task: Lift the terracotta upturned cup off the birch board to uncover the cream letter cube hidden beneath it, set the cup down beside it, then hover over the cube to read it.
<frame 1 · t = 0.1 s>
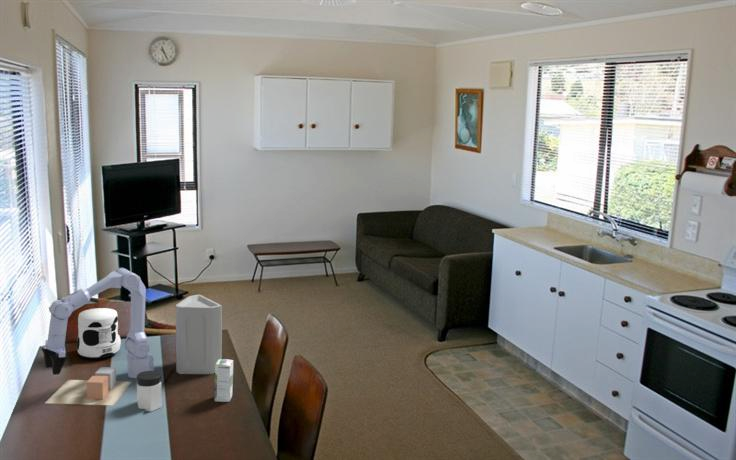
hand: (52, 370, 237), 10 cm above the table, tool pointing down, fingers open, 7 cm apart
grey cover: (105, 386, 248), point 1 cm above the table, touching birch board
white triangular prism: (194, 368, 271), on the table
syrup box: (223, 399, 245), on the table
letter cube: (97, 395, 240), point 1 cm above the table, touching birch board
jar: (149, 406, 236), on the table
terracotta cover: (97, 395, 240), point 1 cm above the table, touching birch board
milk container: (99, 354, 281), on the table
birch board: (90, 394, 243), on the table
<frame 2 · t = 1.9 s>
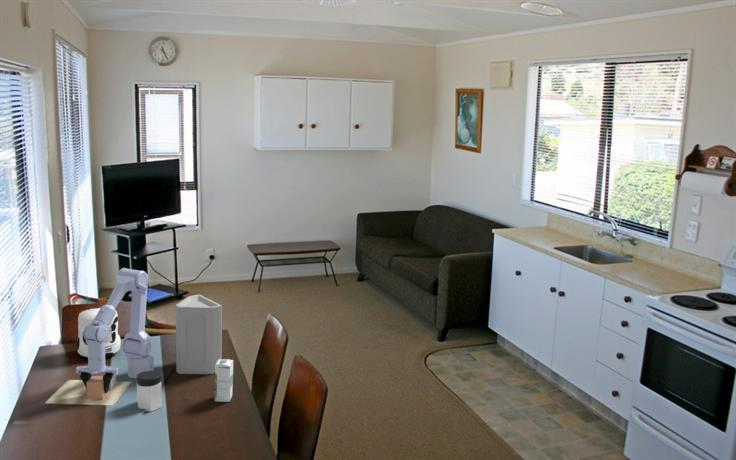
hand: (97, 391, 240), 3 cm above the table, tool pointing down, fingers closed on terracotta cover, 6 cm apart
terracotta cover: (97, 395, 240), point 1 cm above the table, touching birch board, gripper
everything else where it was.
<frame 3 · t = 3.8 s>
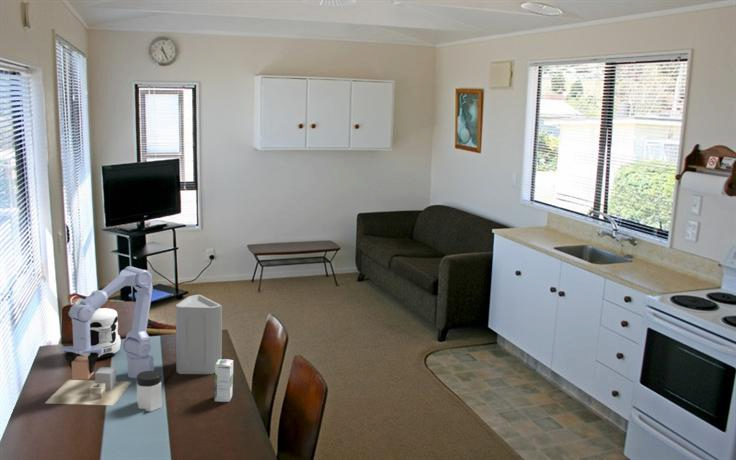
hand: (82, 371, 239), 10 cm above the table, tool pointing down, fingers closed on terracotta cover, 6 cm apart
terracotta cover: (83, 376, 239), point 8 cm above the table, touching gripper
everything else where it was.
when the fingers open (4 cm above the table, at t = 5.7 s): terracotta cover drops 1 cm, resting on birch board.
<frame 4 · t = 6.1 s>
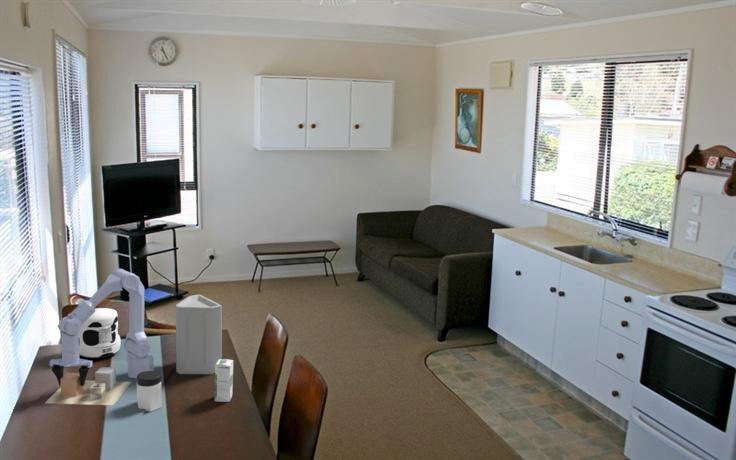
hand: (72, 384, 241), 4 cm above the table, tool pointing down, fingers open, 7 cm apart
terracotta cover: (72, 392, 241), point 1 cm above the table, touching birch board
everything else where it was.
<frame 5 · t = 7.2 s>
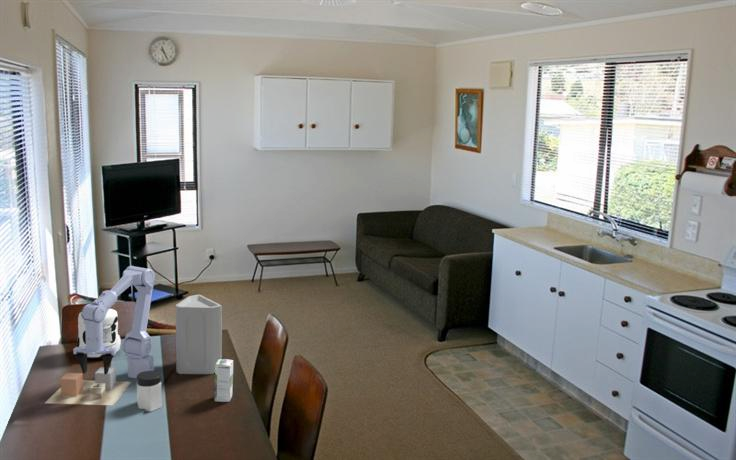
hand: (95, 372, 238), 10 cm above the table, tool pointing down, fingers open, 7 cm apart
nothing on the table moved.
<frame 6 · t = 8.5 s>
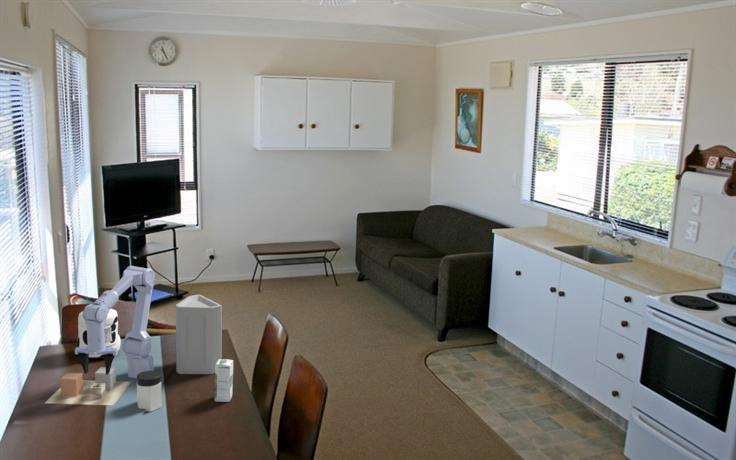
hand: (97, 372, 238), 10 cm above the table, tool pointing down, fingers open, 7 cm apart
nothing on the table moved.
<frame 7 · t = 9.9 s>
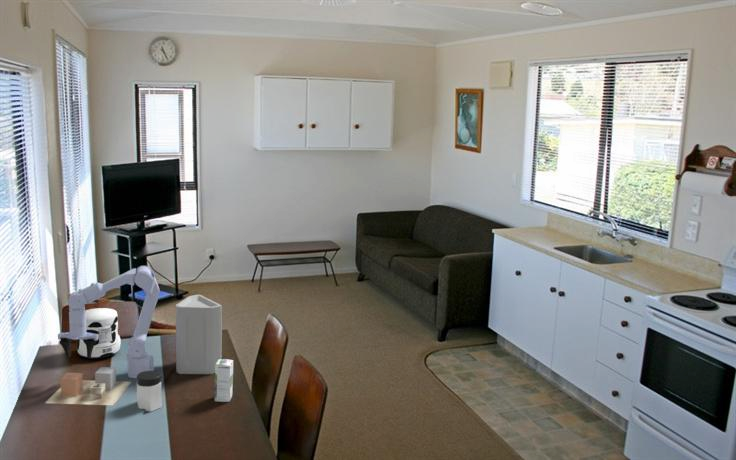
hand: (79, 357, 252), 10 cm above the table, tool pointing down, fingers open, 7 cm apart
nothing on the table moved.
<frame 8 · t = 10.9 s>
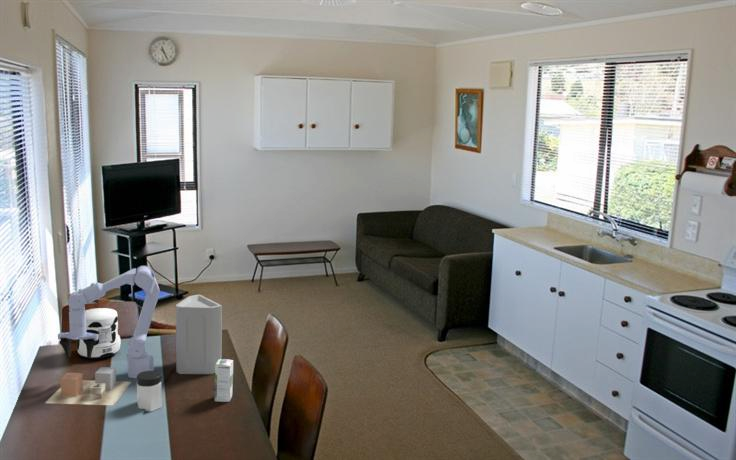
hand: (79, 357, 252), 10 cm above the table, tool pointing down, fingers open, 7 cm apart
nothing on the table moved.
at the end: terracotta cover inside the target area (0.1 cm from its centre), point 1.0 cm above the table; terracotta cover tilted 0°; the gripper is holding nothing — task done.
